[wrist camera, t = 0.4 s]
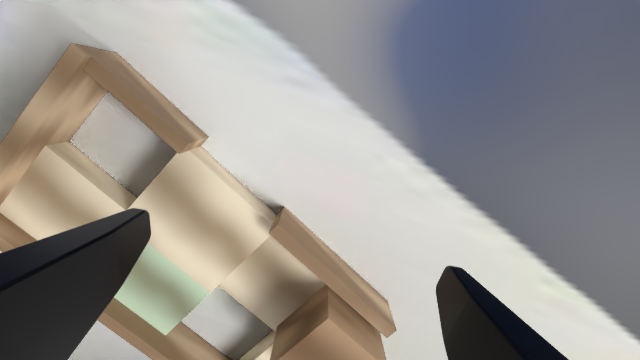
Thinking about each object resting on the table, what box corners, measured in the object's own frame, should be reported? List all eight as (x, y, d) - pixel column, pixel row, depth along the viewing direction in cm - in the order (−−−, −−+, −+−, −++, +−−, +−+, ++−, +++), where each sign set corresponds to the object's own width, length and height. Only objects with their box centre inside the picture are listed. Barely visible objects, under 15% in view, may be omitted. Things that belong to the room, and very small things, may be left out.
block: (327, 367, 26) (327, 414, 22) (276, 326, 25) (268, 367, 21) (378, 327, 25) (388, 369, 21) (327, 282, 24) (328, 318, 20)
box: (266, 397, 30) (257, 442, 26) (5, 201, 25) (-54, 220, 21) (387, 301, 27) (398, 335, 23) (116, 52, 21) (71, 42, 18)
